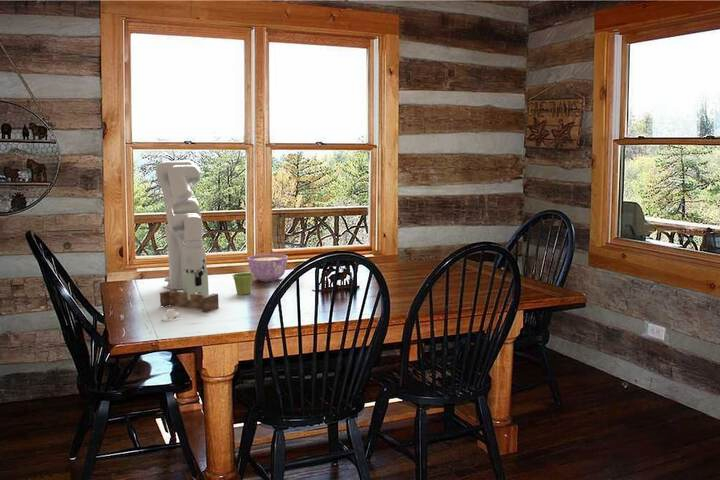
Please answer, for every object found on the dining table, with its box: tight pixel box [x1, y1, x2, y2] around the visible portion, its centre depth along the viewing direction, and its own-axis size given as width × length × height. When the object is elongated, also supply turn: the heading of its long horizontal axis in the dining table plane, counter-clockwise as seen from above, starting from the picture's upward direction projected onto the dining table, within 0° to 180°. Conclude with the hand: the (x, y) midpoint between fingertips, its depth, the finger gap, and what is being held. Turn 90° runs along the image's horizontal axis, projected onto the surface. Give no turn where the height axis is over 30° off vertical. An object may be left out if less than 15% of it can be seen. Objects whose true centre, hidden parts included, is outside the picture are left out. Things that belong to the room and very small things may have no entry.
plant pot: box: [232, 272, 254, 296], centre depth 313 cm, size 9×9×9 cm
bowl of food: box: [247, 253, 289, 283], centre depth 343 cm, size 20×20×12 cm
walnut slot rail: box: [159, 289, 220, 313], centre depth 288 cm, size 24×8×6 cm, turn 63°
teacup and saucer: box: [165, 308, 180, 320], centre depth 270 cm, size 9×8×4 cm
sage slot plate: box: [182, 268, 210, 300], centre depth 304 cm, size 2×14×12 cm, turn 153°
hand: (195, 285), depth 304 cm, fingers open, 2 cm apart
